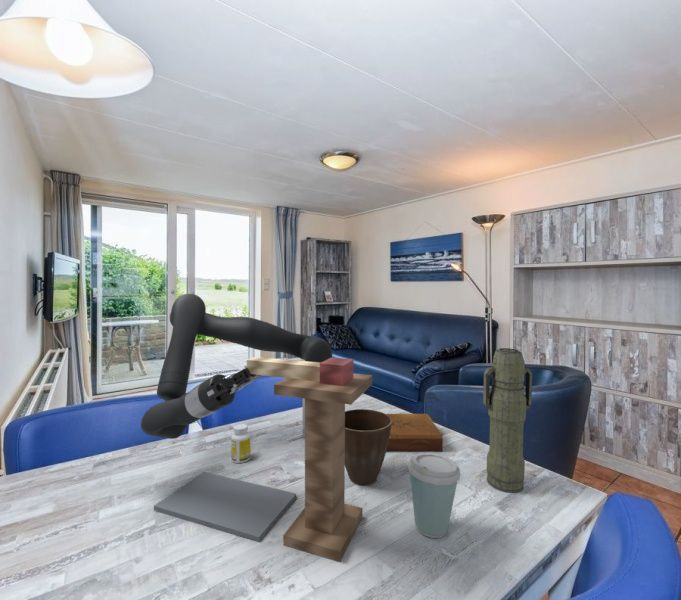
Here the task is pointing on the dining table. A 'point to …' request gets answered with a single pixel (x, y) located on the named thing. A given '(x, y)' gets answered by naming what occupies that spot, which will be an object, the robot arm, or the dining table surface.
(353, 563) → the dining table surface
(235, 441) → the supplement bottle
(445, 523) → the disposable coffee cup
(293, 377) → the bar
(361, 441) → the plant pot
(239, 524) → the mat
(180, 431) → the robot arm
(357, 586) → the dining table surface
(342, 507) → the brown tall pedestal shape
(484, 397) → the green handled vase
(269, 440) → the dining table surface
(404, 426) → the diary
